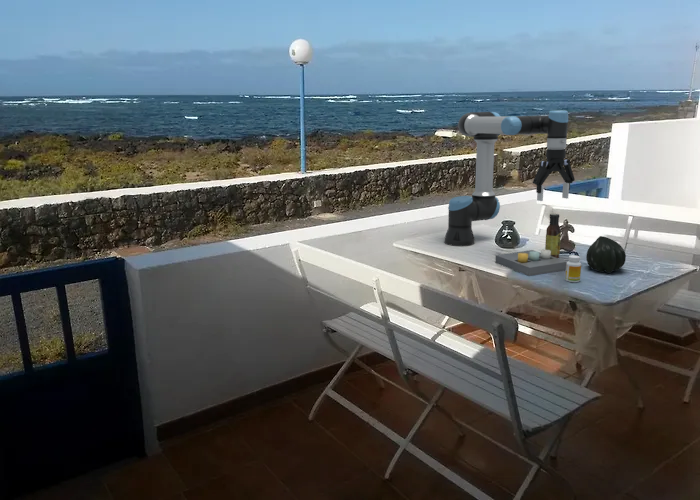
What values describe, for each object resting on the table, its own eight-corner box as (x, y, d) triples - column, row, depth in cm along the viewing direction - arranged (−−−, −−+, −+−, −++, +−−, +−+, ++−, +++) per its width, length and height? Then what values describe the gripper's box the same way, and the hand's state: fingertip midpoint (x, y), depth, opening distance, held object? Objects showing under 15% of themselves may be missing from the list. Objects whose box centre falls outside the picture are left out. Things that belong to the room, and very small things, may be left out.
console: (495, 262, 233) (495, 255, 232) (531, 257, 240) (532, 249, 239) (529, 275, 213) (529, 267, 212) (567, 269, 220) (568, 261, 219)
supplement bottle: (583, 281, 205) (585, 257, 202) (571, 283, 203) (573, 259, 201) (573, 277, 210) (575, 254, 207) (562, 279, 208) (563, 255, 205)
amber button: (515, 262, 223) (516, 253, 222) (523, 261, 225) (523, 252, 224) (521, 264, 220) (522, 255, 219) (529, 263, 221) (530, 254, 220)
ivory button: (538, 259, 227) (538, 250, 226) (545, 258, 229) (546, 249, 228) (544, 261, 224) (545, 252, 223) (552, 260, 225) (552, 251, 224)
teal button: (527, 260, 225) (527, 251, 224) (534, 259, 227) (535, 250, 226) (533, 263, 222) (534, 253, 221) (541, 261, 223) (541, 252, 222)
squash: (639, 260, 212) (619, 228, 218) (615, 267, 206) (595, 234, 211) (614, 275, 224) (595, 245, 229) (590, 282, 217) (571, 251, 223)
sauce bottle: (560, 259, 236) (563, 215, 231) (545, 259, 237) (548, 215, 232) (557, 255, 242) (561, 213, 237) (543, 255, 243) (546, 212, 238)
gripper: (538, 150, 211) (535, 203, 216) (586, 147, 220) (582, 198, 225) (525, 149, 218) (522, 200, 223) (572, 146, 227) (568, 195, 232)
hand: (552, 199), depth 224 cm, fingers open, 13 cm apart
